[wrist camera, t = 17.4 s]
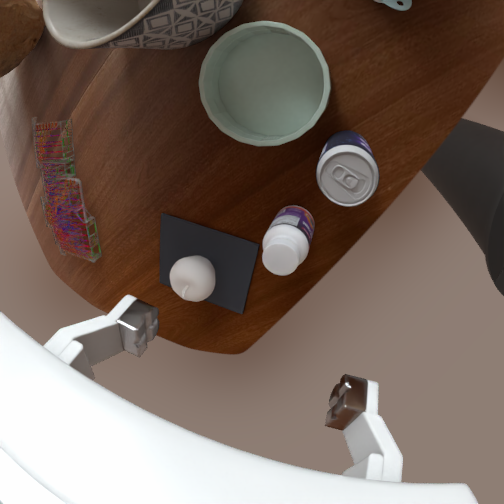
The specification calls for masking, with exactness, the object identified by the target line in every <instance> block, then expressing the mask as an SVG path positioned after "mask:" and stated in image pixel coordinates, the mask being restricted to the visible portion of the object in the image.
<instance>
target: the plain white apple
mask: <svg viewBox="0 0 504 504" xmlns="http://www.w3.org/2000/svg"><path fill="white" fill-rule="evenodd" d="M170 282H171V286H172V288H173V290H174V291H175V292H176V293H177V294H178V295H179V296H180V297H181V298H183V299H185V300H189V301H195V302H198V301H202V300H204V299H206V298H207V297H208V296H210V295H211V293H212V292H213V290H214V287H215V269H214V267H213V265H212V264H211V262H210V261H209V260H208V259H206V258H204V257H202V256H199V255H195V256H189V257H184V258H182V259H179V260H178V261H177V262H176V263H175V264H174V265H173V267H172V269H171V271H170Z"/></svg>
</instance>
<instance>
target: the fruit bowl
mask: <svg viewBox="0 0 504 504" xmlns="http://www.w3.org/2000/svg"><path fill="white" fill-rule="evenodd" d="M199 89H200V96H201V101H202V103H203V106H204V108H205V110H206V112H207V114H208V116H209V118H210V119H211V120H212V121H213V122H214V123H215V124H216V126H217V127H218V128H219V129H220V130H221V131H222V132H224V133H225V134H227V135H229V136H230V137H232V138H234V139H235V140H237V141H239V142H243V143H247V144H251V145H255V146H276V145H281V144H284V143H286V142H289V141H292V140H295V139H297V138H299V137H300V136H301V135H303V134H304V133H305V132H307V131H308V130H309V129H310V128H312V127H313V126H314V125H315V124H316V123H317V122H318V121H319V119H320V118H321V116H322V115H323V113H324V112H325V110H326V109H327V107H328V104H329V100H330V96H331V92H332V81H331V72H330V69H329V67H328V65H327V62H326V60H325V58H324V56H323V54H322V52H321V51H320V49H319V48H318V47H317V46H316V45H315V44H314V43H313V42H312V41H311V40H310V39H309V38H308V37H307V36H306V35H305V34H304V33H303V32H301V31H299V30H297V29H295V28H293V27H291V26H288V25H286V24H283V23H277V22H270V21H258V22H252V23H246V24H242V25H240V26H238V27H236V28H234V29H232V30H230V31H228V32H226V33H225V34H223V35H222V36H221V37H220V38H219V39H218V40H217V41H216V42H215V43H214V44H213V45H212V46H211V47H210V49H209V51H208V53H207V55H206V57H205V59H204V61H203V63H202V65H201V71H200V77H199Z"/></svg>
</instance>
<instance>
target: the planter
mask: <svg viewBox="0 0 504 504" xmlns="http://www.w3.org/2000/svg"><path fill="white" fill-rule="evenodd" d="M242 2H243V0H42V9H43V17H44V22H45V25H46V27H47V30H48V31H49V33H50V35H51V36H52V37H53V38H54V39H55V40H56V41H57V42H58V43H60V44H61V45H63V46H65V47H68V48H72V49H93V48H145V49H163V50H171V49H180V48H184V47H188V46H191V45H194V44H196V43H199V42H201V41H203V40H205V39H207V38H208V37H210V36H212V35H213V34H215V33H216V32H217V31H219V30H220V29H221V28H222V27H224V26H225V25H226V24H227V23H228V22H229V21H230V20H231V18H232V17H233V16H234V15H235V14H236V12H237V11H238V9H239V8H240V6H241V4H242Z"/></svg>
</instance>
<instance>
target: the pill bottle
mask: <svg viewBox="0 0 504 504" xmlns="http://www.w3.org/2000/svg"><path fill="white" fill-rule="evenodd" d="M314 226H315V225H314V220H313V217H312V215H311V214H310V213H309V212H308V211H307V210H306V209H305V208H303V207H300V206H296V205H291V206H287V207H285V208H283V209H281V210H280V211H279V212H278V214H277V215H276V217H275V218H274V220H273V222H272V224H271V225H270V227H269V229H268V231H267V232H266V234H265V236H264V239H263V255H262V260H263V263H264V265H265V267H266V268H267V269H268V270H269V271H270V272H272V273H274V274H276V275H288V274H291V273H292V272H294V271H295V270H296V268H297V266H298V265H299V264H301V263H302V262H303V261H304V260H305V258H306V256H307V254H308V251H309V247H310V244H311V240H312V236H313V232H314Z"/></svg>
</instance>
